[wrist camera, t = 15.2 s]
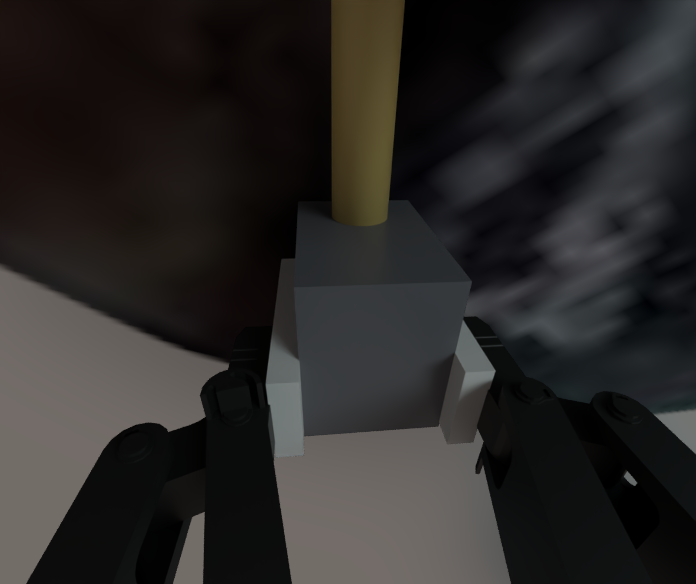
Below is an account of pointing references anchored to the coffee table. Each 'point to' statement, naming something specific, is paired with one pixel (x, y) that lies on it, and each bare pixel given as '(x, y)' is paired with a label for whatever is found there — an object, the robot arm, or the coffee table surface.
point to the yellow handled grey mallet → (371, 256)
